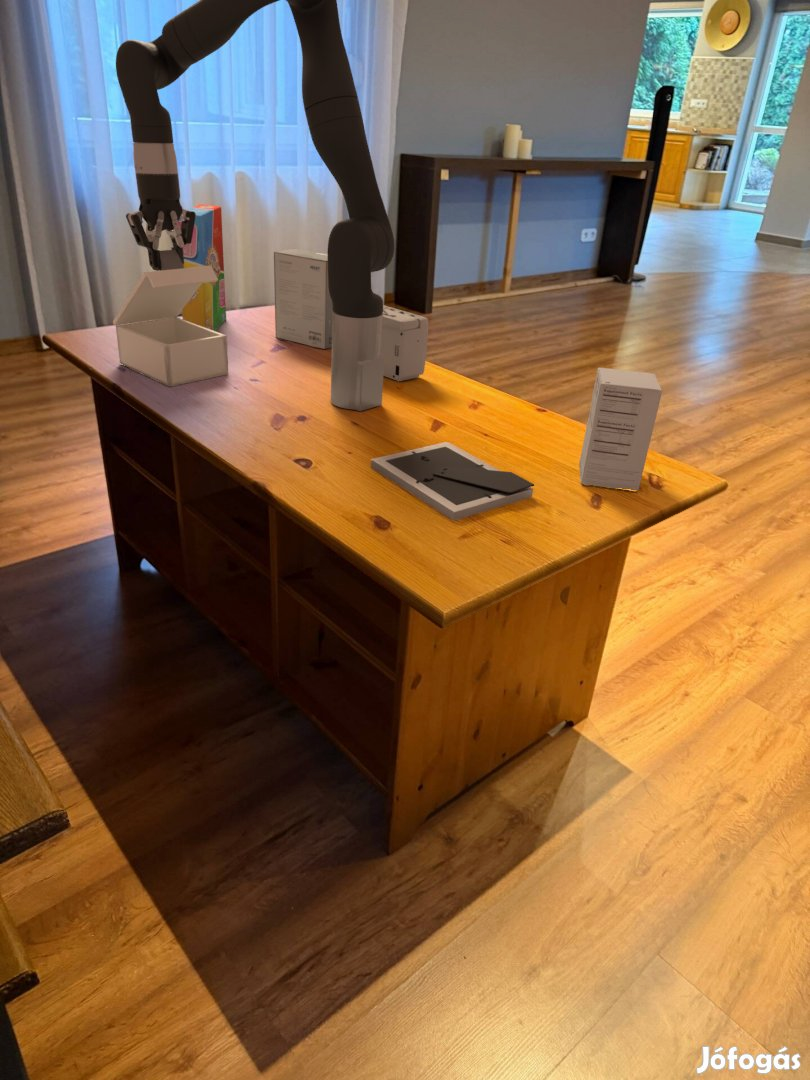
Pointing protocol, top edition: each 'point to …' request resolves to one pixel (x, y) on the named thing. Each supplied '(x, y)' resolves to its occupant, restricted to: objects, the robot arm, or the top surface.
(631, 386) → the supplement box
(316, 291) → the hard drive box
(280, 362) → the top surface
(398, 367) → the stereo radio cassette player
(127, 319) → the mailer lid
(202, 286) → the game box
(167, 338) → the mailer box
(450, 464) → the picture frame
